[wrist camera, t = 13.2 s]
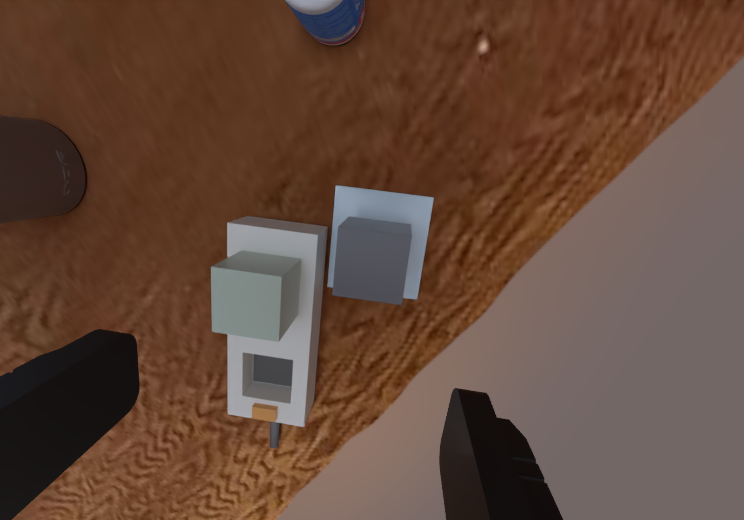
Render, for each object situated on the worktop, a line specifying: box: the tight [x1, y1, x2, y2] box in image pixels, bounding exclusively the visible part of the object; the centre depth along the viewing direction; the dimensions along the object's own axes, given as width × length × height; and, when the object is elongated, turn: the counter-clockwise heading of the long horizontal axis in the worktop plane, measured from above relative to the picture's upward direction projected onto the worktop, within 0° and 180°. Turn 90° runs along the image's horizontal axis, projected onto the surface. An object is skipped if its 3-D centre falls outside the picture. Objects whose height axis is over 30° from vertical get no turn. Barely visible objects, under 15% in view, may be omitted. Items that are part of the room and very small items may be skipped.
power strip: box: [227, 216, 328, 448], centre depth 35 cm, size 26×8×5 cm, turn 173°
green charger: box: [211, 250, 301, 342], centre depth 30 cm, size 5×5×7 cm
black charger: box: [332, 216, 412, 305], centre depth 29 cm, size 5×5×7 cm
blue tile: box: [327, 185, 434, 300], centre depth 33 cm, size 9×10×1 cm
